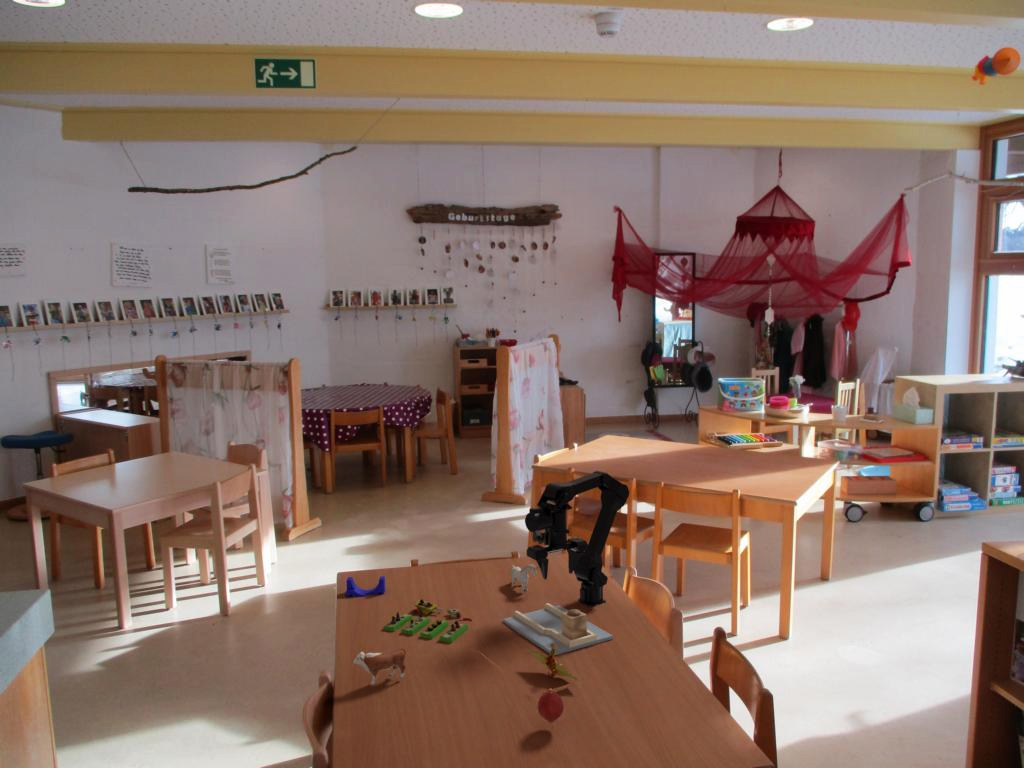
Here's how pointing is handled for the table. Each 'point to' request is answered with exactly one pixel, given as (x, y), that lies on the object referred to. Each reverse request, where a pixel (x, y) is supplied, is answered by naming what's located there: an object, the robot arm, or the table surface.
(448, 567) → the table surface
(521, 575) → the unicorn figurine
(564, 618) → the stud block
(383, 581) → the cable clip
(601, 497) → the robot arm
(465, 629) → the toy garden set
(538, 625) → the keyhole board
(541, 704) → the onion
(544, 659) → the origami crane
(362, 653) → the bull figurine
